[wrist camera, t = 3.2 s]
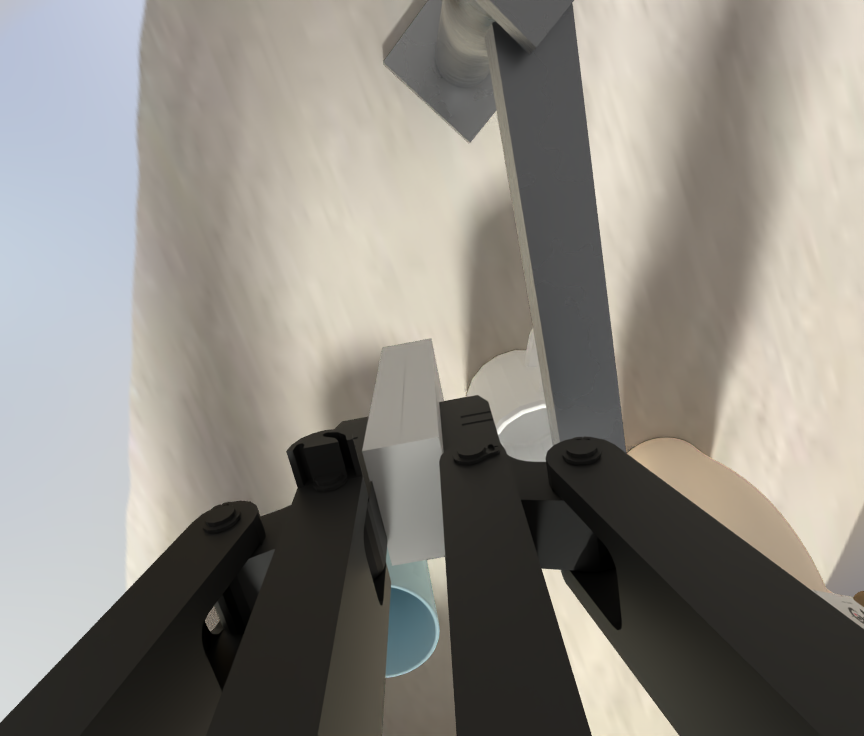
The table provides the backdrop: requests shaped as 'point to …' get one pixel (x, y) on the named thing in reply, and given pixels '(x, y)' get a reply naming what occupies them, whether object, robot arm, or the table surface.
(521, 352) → the mug
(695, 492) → the water bottle
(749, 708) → the robot arm
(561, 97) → the bar
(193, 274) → the table surface
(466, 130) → the post
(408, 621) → the cup
